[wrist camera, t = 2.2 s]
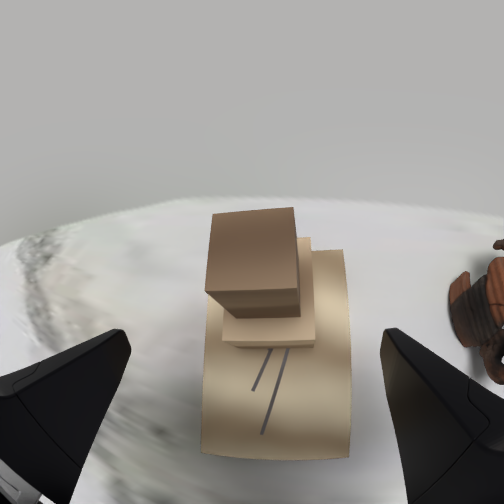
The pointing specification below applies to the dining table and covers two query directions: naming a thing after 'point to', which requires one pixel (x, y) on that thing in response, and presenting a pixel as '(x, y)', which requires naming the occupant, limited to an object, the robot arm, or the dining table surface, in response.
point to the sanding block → (262, 279)
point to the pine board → (283, 383)
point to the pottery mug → (482, 314)
